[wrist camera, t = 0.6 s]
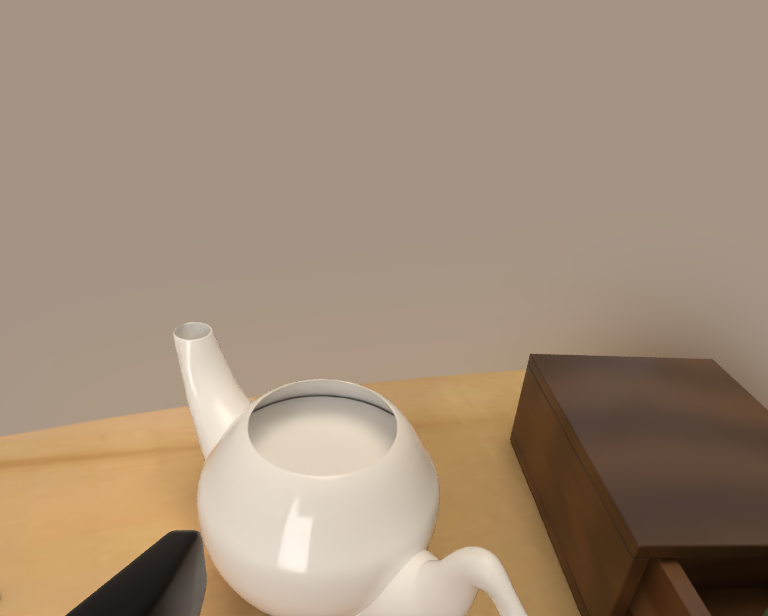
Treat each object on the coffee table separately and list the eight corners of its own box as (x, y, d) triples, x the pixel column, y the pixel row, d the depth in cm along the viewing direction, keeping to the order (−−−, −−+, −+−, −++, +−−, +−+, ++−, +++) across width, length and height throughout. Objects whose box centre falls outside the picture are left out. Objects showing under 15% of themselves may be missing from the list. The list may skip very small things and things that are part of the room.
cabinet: (840, 644, 25) (913, 544, 22) (595, 650, 24) (638, 546, 21) (678, 441, 37) (712, 358, 34) (509, 438, 36) (529, 353, 33)
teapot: (421, 904, 17) (468, 734, 12) (110, 515, 28) (79, 357, 24) (568, 668, 23) (631, 503, 19) (267, 430, 35) (264, 294, 30)
